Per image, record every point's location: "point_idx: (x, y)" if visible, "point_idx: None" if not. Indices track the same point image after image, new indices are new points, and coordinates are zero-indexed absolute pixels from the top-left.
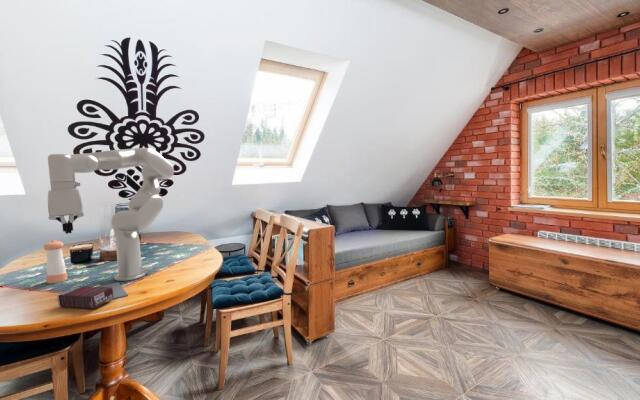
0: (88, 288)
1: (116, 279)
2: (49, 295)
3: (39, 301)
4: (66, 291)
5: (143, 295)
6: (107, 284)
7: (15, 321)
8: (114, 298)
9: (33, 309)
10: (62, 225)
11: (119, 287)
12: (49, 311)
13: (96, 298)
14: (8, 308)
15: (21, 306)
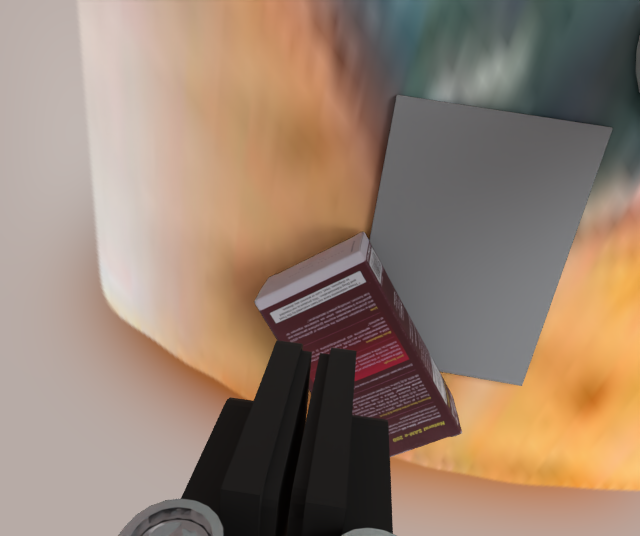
0: (383, 344)
1: (638, 61)
2: (265, 15)
3: (214, 91)
4: (296, 287)
5: (562, 430)
6: (547, 125)
7: (129, 290)
8: (464, 374)
9: (185, 200)
10: (191, 489)
11: (557, 247)
12: (235, 287)
13: None
14: (94, 76)
15: (143, 99)
